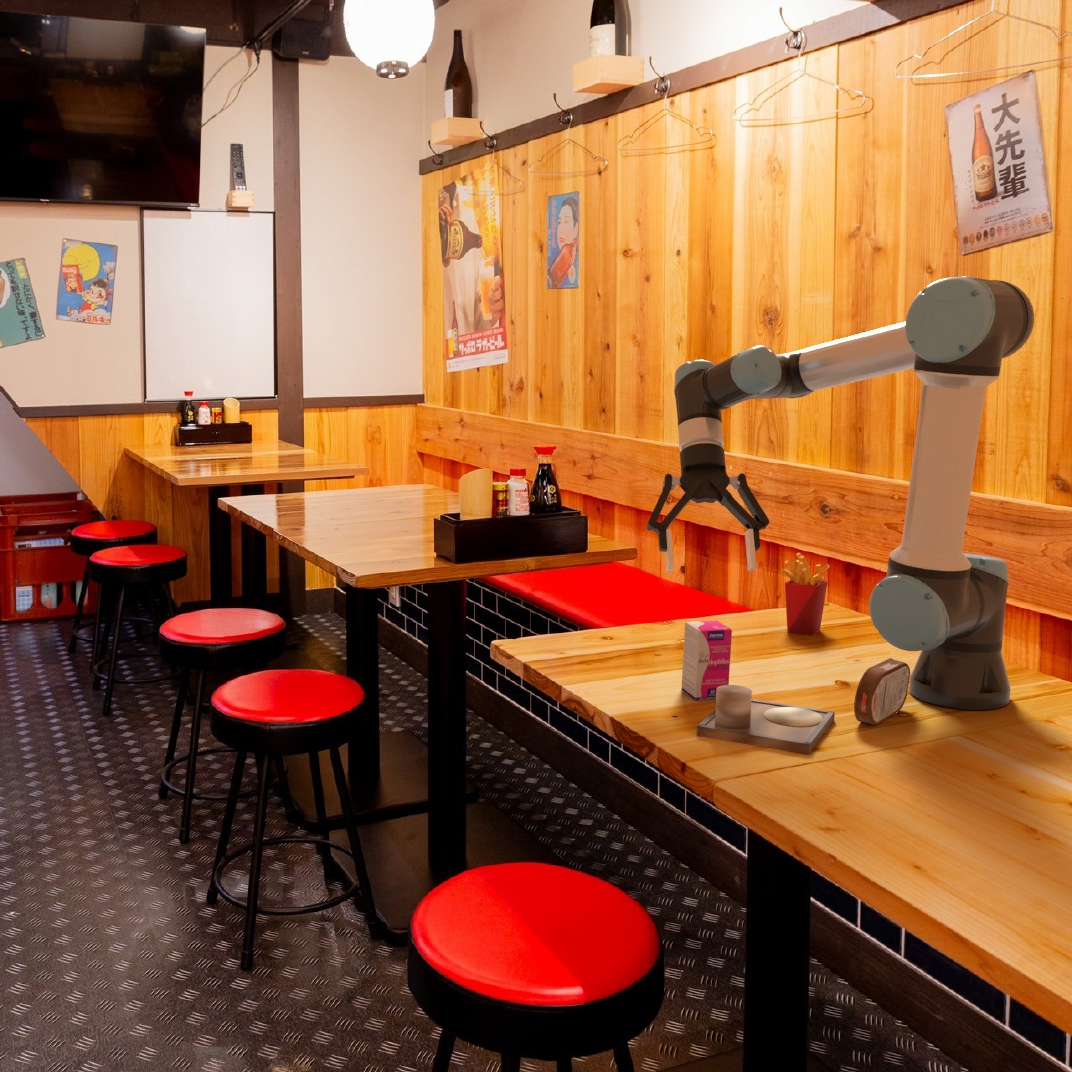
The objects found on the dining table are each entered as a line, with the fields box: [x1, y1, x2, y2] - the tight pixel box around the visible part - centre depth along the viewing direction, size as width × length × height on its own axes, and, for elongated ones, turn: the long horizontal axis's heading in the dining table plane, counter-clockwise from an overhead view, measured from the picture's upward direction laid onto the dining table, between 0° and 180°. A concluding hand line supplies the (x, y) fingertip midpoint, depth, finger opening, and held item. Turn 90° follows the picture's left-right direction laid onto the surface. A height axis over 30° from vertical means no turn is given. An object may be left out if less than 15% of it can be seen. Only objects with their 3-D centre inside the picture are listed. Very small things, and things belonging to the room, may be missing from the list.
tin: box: [853, 657, 911, 726], centre depth 174 cm, size 15×3×8 cm, turn 141°
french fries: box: [780, 552, 830, 636], centre depth 224 cm, size 9×8×15 cm
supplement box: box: [681, 620, 733, 701], centre depth 183 cm, size 6×6×12 cm
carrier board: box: [696, 684, 836, 755], centre depth 168 cm, size 16×16×6 cm
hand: (711, 569), depth 190 cm, fingers open, 13 cm apart
